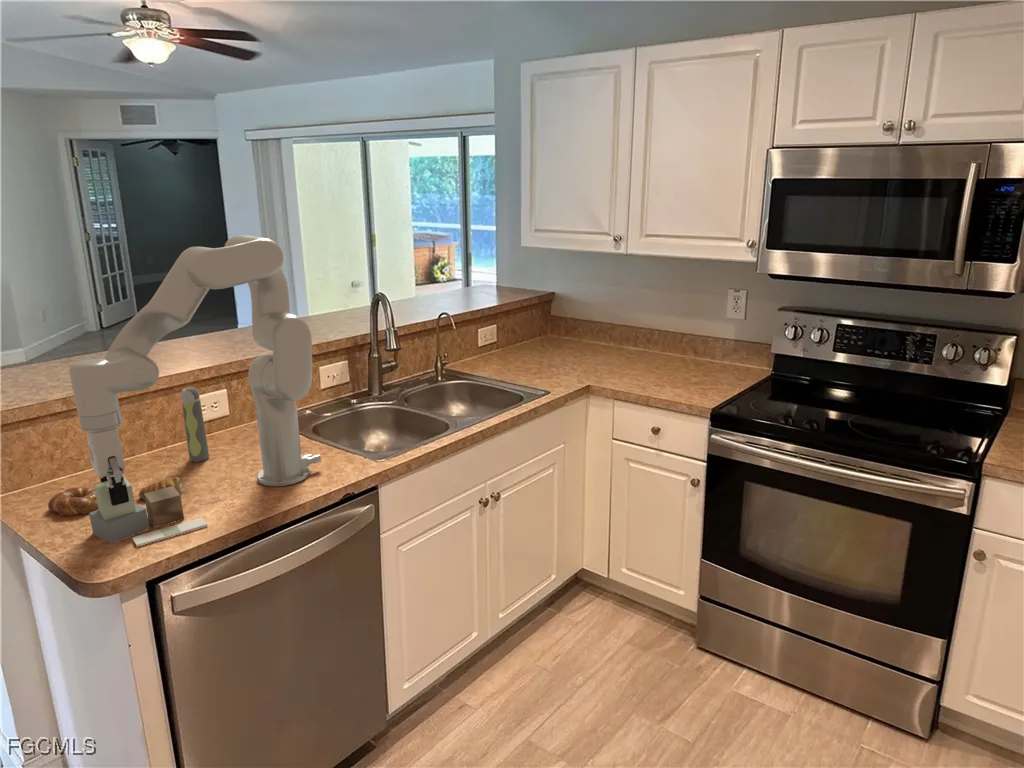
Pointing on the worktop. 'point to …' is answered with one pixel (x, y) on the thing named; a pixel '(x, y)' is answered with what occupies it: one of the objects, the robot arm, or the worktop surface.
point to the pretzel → (74, 502)
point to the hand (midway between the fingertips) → (115, 495)
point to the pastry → (162, 486)
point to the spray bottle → (194, 425)
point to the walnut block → (164, 506)
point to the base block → (119, 524)
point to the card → (169, 531)
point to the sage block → (105, 501)
